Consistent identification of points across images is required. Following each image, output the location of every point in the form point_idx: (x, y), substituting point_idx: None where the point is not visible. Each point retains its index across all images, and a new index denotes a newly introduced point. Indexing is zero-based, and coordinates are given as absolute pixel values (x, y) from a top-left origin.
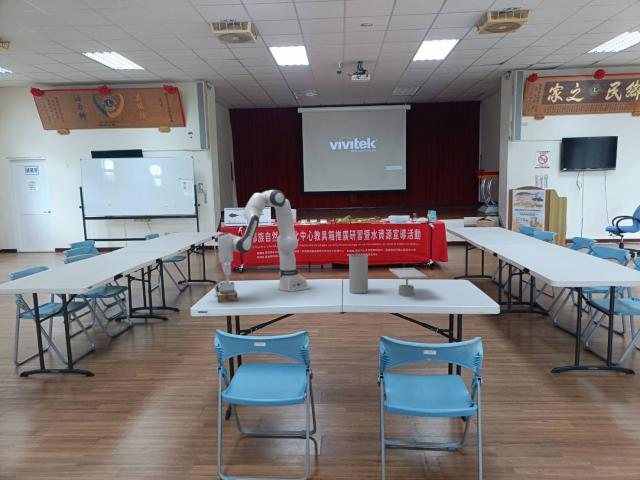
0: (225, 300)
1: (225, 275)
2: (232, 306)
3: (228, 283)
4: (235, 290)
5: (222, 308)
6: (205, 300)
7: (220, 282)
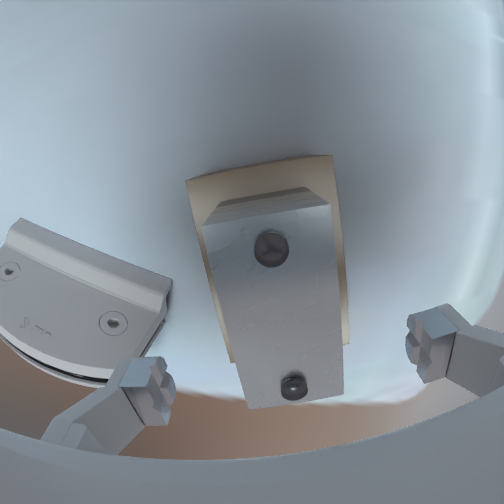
0: None
1: (158, 421)
2: (458, 196)
3: (293, 302)
4: (190, 185)
5: (475, 261)
6: None
7: (50, 364)
